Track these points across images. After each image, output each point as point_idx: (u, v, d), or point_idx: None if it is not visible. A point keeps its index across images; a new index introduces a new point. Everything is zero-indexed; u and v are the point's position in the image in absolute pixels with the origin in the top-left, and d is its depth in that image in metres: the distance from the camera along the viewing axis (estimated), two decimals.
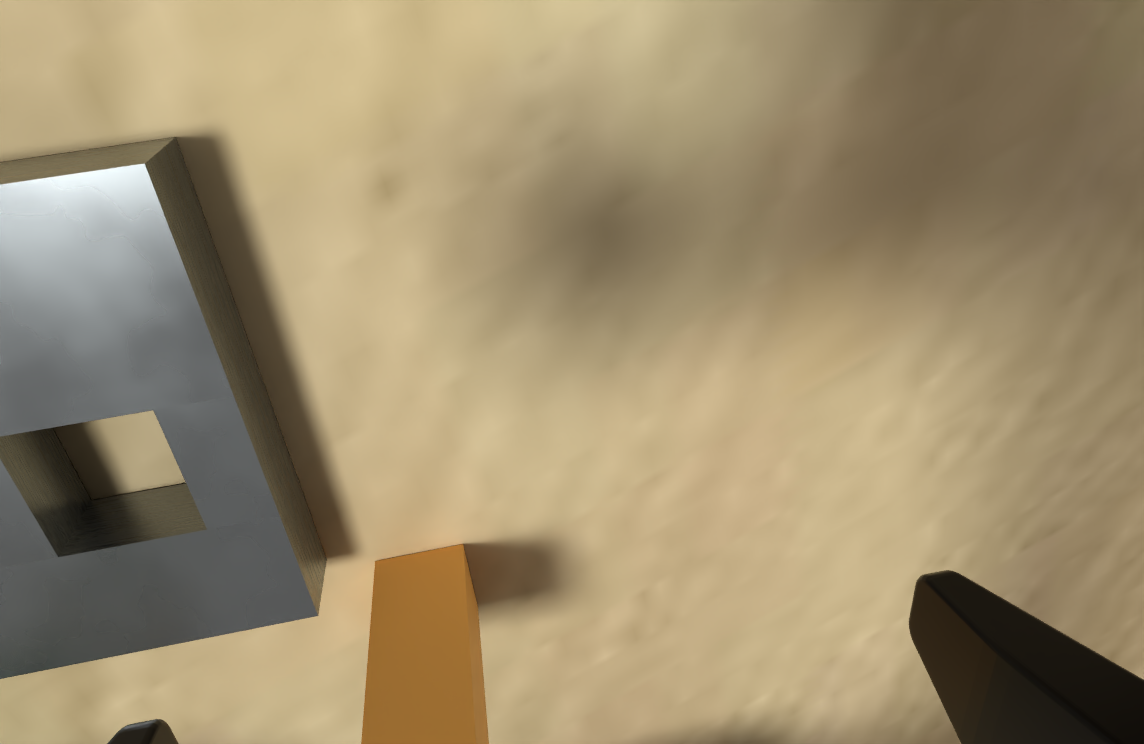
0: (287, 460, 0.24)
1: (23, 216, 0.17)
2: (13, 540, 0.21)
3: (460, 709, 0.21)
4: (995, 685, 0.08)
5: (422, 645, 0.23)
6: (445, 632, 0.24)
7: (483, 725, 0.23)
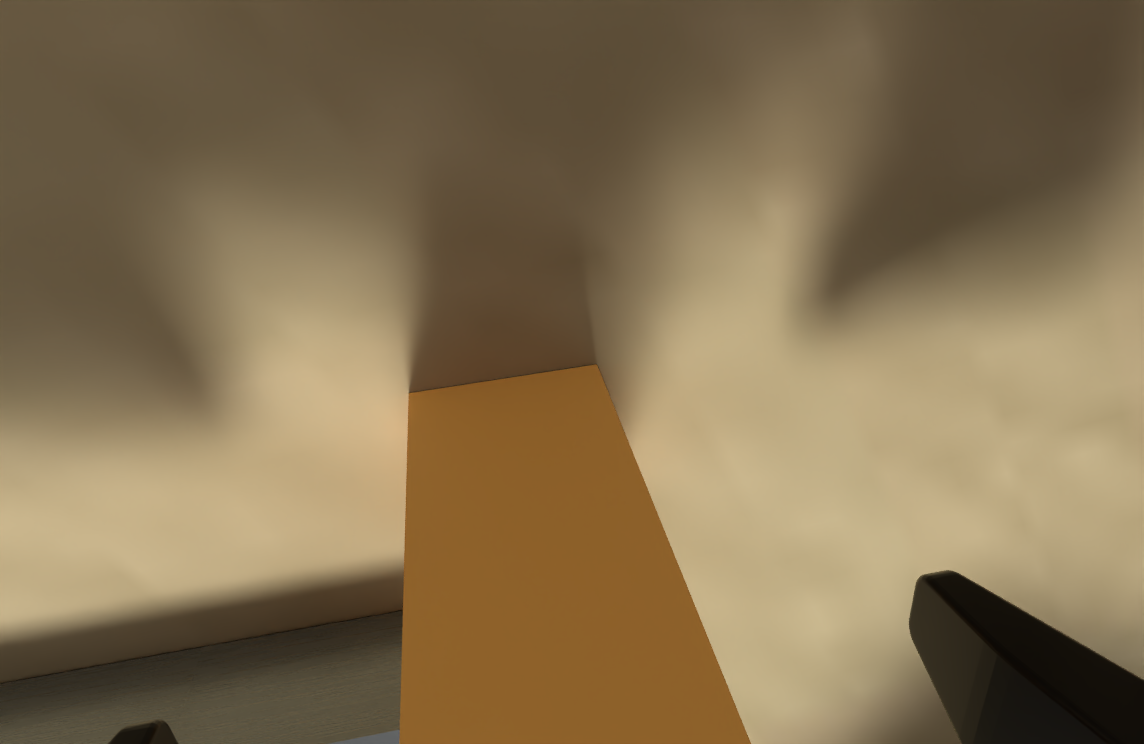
0: (175, 666, 0.14)
1: None
2: None
3: None
4: (995, 685, 0.08)
5: None
6: None
7: (610, 656, 0.08)
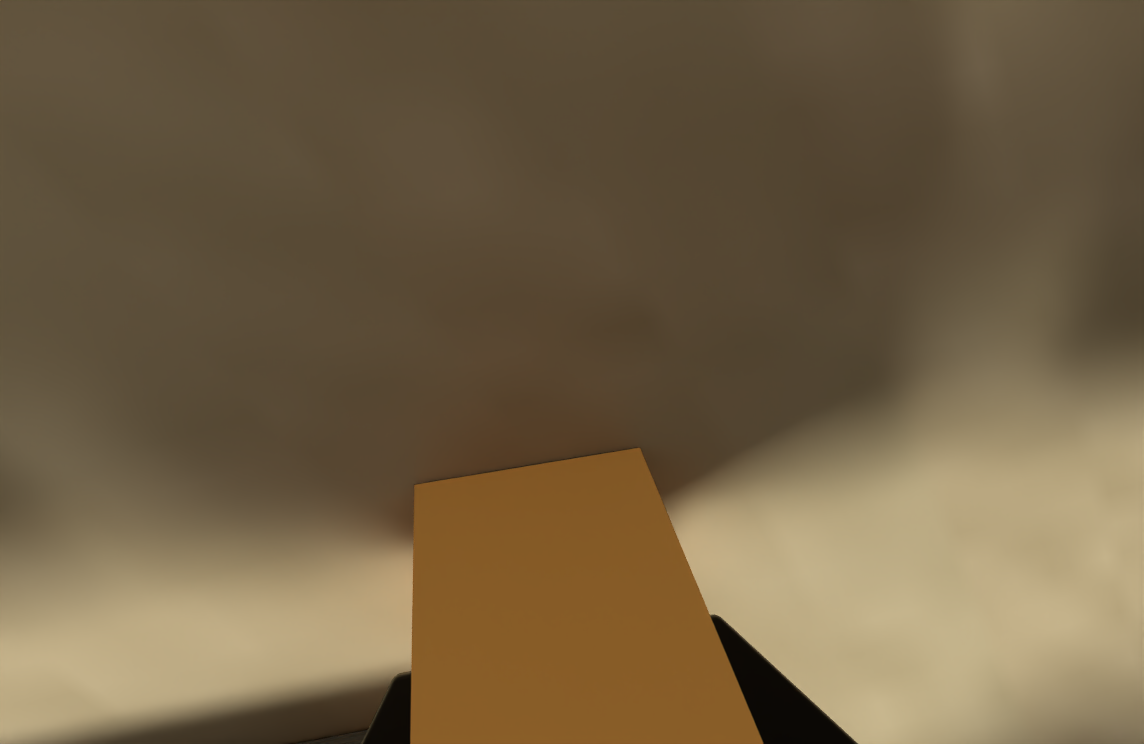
0: None
1: None
2: None
3: None
4: None
5: None
6: None
7: None
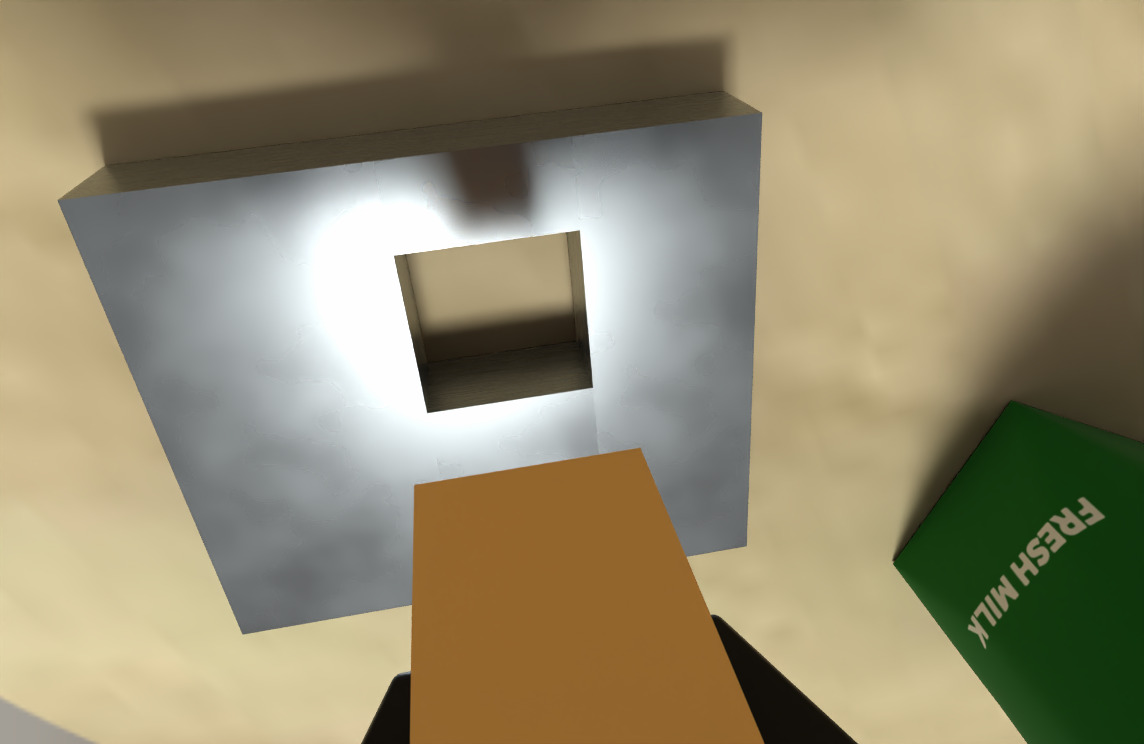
0: (541, 116, 0.18)
1: (150, 327, 0.17)
2: (561, 420, 0.19)
3: None
4: None
5: None
6: None
7: None
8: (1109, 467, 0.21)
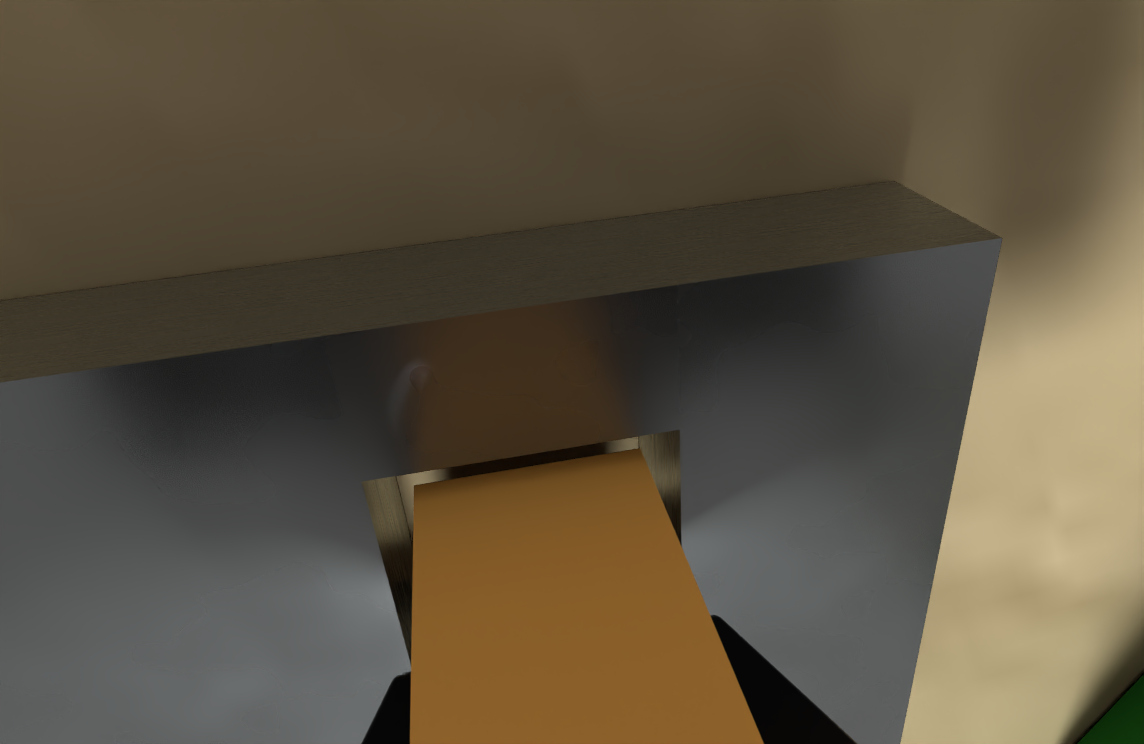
0: (607, 227, 0.11)
1: None
2: None
3: None
4: None
5: None
6: None
7: None
8: None
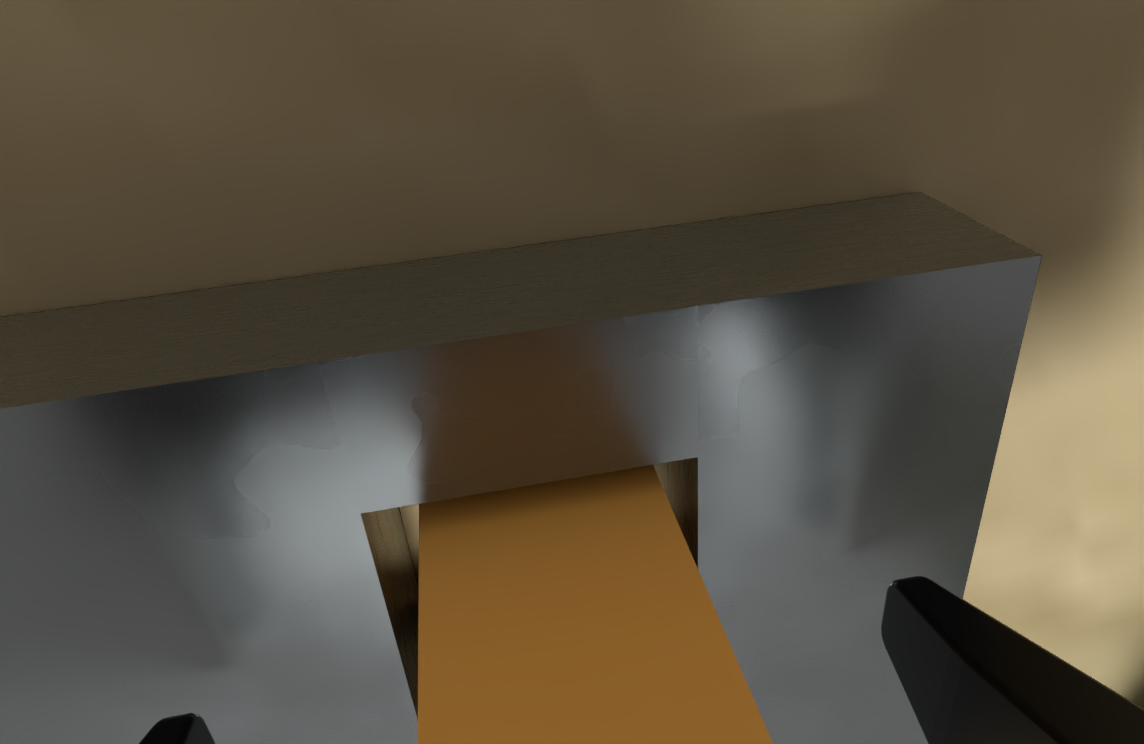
0: (620, 242, 0.10)
1: None
2: None
3: None
4: (962, 692, 0.08)
5: None
6: None
7: (651, 735, 0.07)
8: None
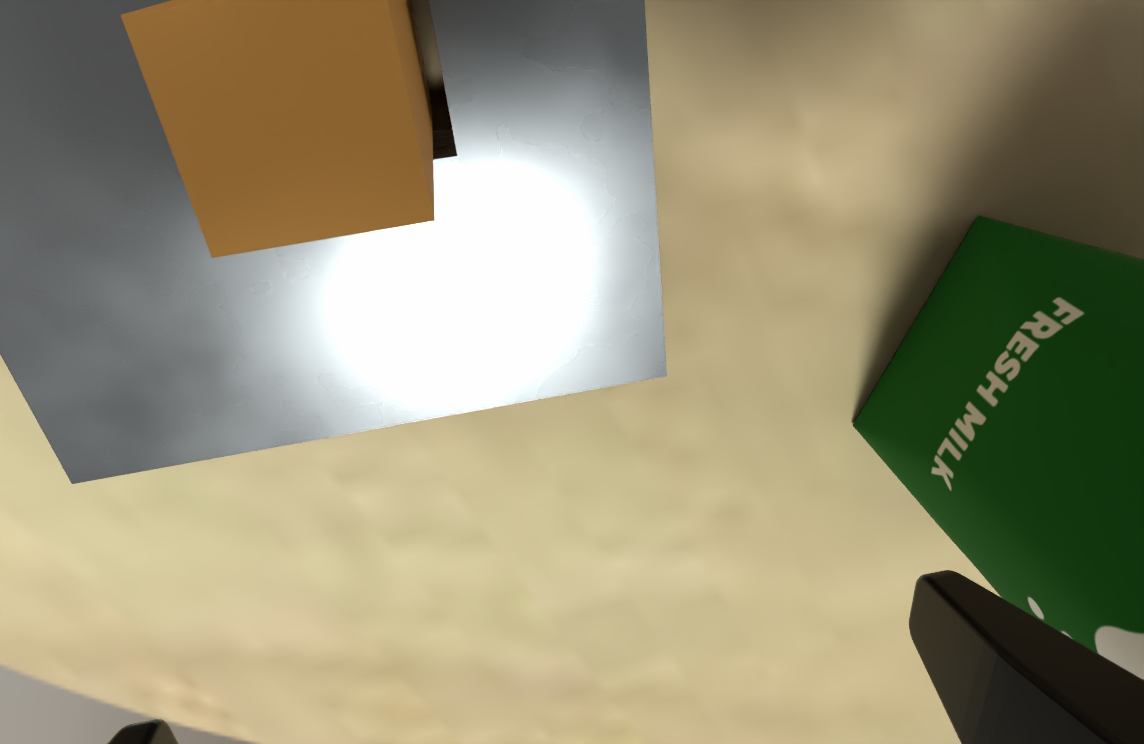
0: None
1: None
2: None
3: None
4: (995, 685, 0.08)
5: None
6: None
7: None
8: (1089, 263, 0.18)
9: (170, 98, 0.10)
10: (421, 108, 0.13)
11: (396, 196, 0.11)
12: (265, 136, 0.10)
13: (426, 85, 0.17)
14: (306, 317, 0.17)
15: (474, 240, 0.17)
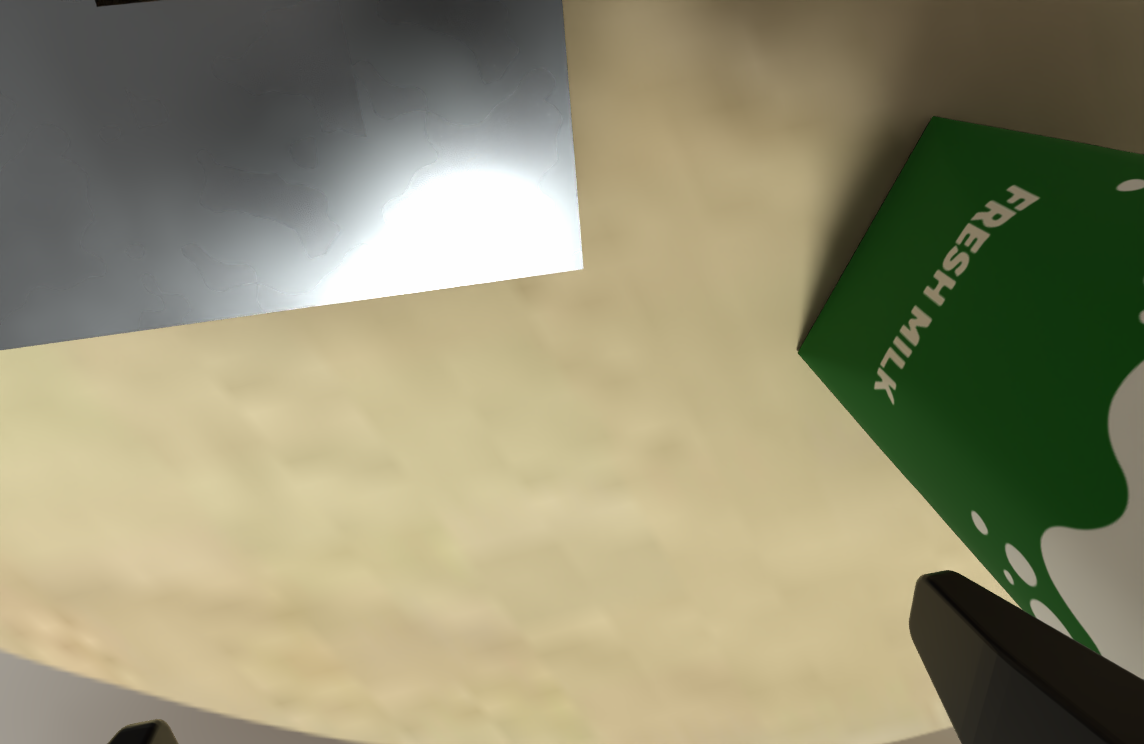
0: None
1: None
2: (297, 37, 0.14)
3: None
4: (995, 685, 0.08)
5: None
6: None
7: None
8: (1048, 151, 0.16)
9: None
10: None
11: None
12: None
13: None
14: (165, 173, 0.15)
15: (358, 90, 0.15)
